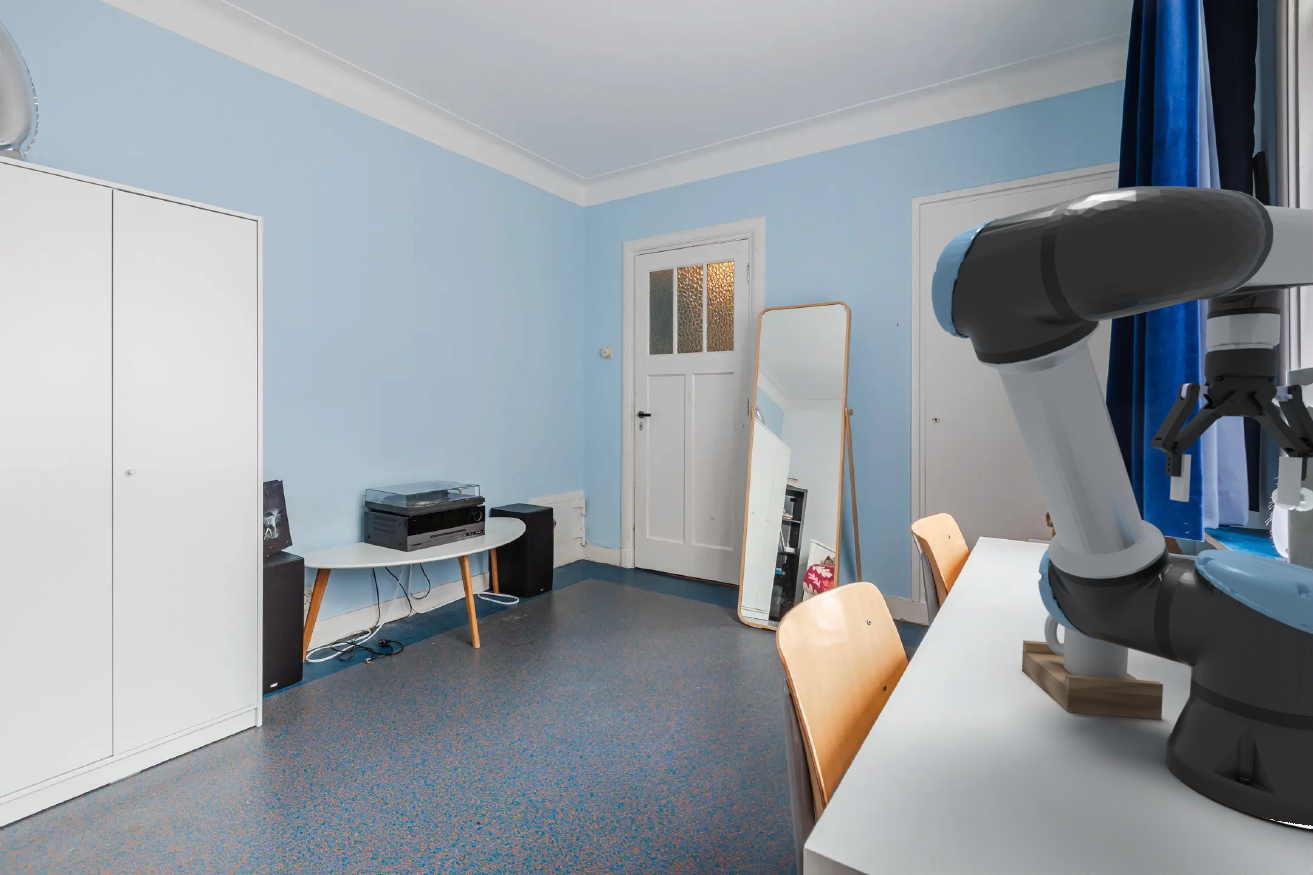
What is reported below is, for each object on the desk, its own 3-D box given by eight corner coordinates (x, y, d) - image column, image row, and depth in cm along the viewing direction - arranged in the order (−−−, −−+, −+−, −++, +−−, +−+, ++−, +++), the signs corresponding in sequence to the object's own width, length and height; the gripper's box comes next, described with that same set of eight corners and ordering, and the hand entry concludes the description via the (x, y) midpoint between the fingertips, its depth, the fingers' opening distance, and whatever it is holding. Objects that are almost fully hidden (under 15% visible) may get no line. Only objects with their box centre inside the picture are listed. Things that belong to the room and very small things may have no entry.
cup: (1115, 689, 83) (1119, 621, 82) (1032, 664, 91) (1035, 602, 90) (1134, 677, 87) (1137, 611, 87) (1053, 654, 95) (1056, 594, 95)
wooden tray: (1161, 719, 81) (1163, 684, 81) (1067, 711, 83) (1068, 677, 83) (1101, 676, 95) (1102, 646, 95) (1021, 669, 97) (1023, 640, 96)
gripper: (1319, 352, 91) (1310, 502, 91) (1126, 351, 94) (1119, 495, 95) (1370, 346, 83) (1360, 509, 84) (1159, 345, 86) (1151, 502, 87)
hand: (1233, 502), depth 89 cm, fingers open, 13 cm apart
